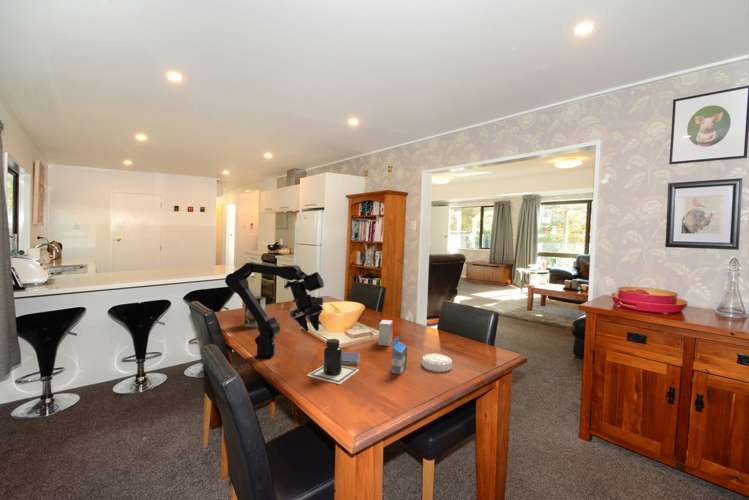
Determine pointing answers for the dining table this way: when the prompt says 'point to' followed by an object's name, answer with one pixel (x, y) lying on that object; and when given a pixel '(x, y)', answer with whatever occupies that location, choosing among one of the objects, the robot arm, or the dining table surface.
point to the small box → (385, 332)
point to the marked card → (336, 379)
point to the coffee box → (248, 316)
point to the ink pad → (350, 358)
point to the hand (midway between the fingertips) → (312, 330)
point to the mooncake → (436, 362)
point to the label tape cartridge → (398, 356)
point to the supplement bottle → (332, 358)
